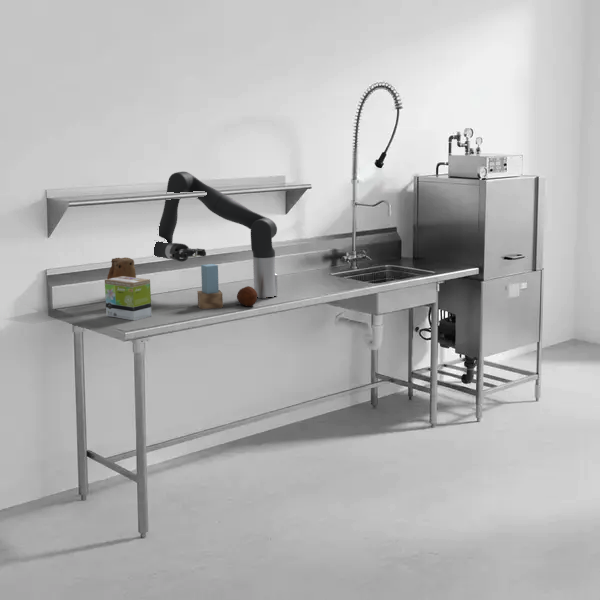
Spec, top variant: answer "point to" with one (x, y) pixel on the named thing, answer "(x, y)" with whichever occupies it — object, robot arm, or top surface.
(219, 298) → the brown wooden block
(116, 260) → the brown tapered piece
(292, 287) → the top surface
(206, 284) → the pillar
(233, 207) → the robot arm
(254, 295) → the potato
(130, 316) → the tea box
